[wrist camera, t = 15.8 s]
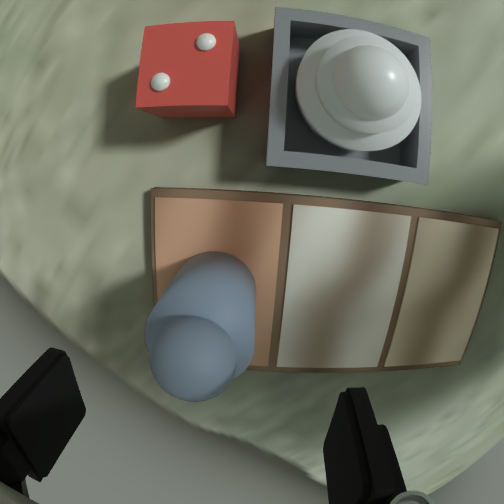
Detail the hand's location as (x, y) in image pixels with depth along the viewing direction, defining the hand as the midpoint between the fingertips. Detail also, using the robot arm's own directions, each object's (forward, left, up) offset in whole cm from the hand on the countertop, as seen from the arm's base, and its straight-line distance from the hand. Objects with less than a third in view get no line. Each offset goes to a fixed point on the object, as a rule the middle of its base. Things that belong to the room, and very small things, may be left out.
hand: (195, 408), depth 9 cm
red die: (+2, -12, -11) cm, 17 cm away
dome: (-6, -12, -9) cm, 16 cm away
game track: (-7, 0, -11) cm, 13 cm away
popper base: (-6, -12, -11) cm, 17 cm away
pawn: (+1, 0, -10) cm, 10 cm away
